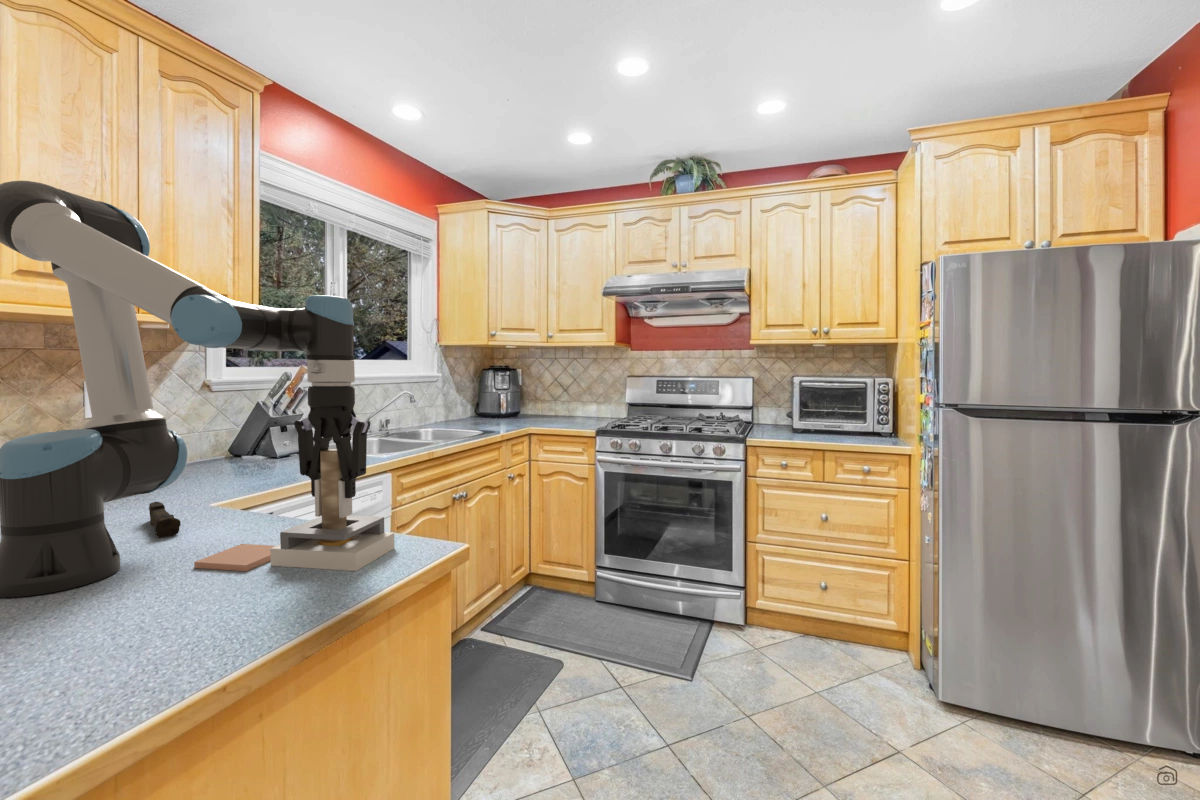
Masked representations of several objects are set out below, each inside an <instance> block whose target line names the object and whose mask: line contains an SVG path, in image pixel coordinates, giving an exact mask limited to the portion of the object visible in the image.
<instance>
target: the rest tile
mask: <svg viewBox="0 0 1200 800" xmlns="http://www.w3.org/2000/svg"><path fill="white" fill-rule="evenodd" d="M275 546H276V545H270V544H269V545H267V544H254V543H253V544H250V543H239V544H238V545H236V546H232V547H230V548H228V549H224V550H221V551H220V552H216V553H214V554H211V555H210V556H209V555H208V556H206V557H203V558H201V559H198V560H196V561H194V562H193V565H194V569H205V570H206V569H207V570H223V571H224V570H225V571H238V572H248V571H250V570H252V569H255V568H256V567H259V566H261V565H264V564H267V562H271V557H270V548H272V547H275Z"/></svg>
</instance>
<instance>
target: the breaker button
mask: <svg viewBox="0 0 1200 800" xmlns="http://www.w3.org/2000/svg"><path fill="white" fill-rule="evenodd" d="M349 541H350V538H348V539H346V540H342V541H338V542H323V541H322V540H320V545H327V546H341V545H343V544H345V543H347V542H349Z"/></svg>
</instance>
